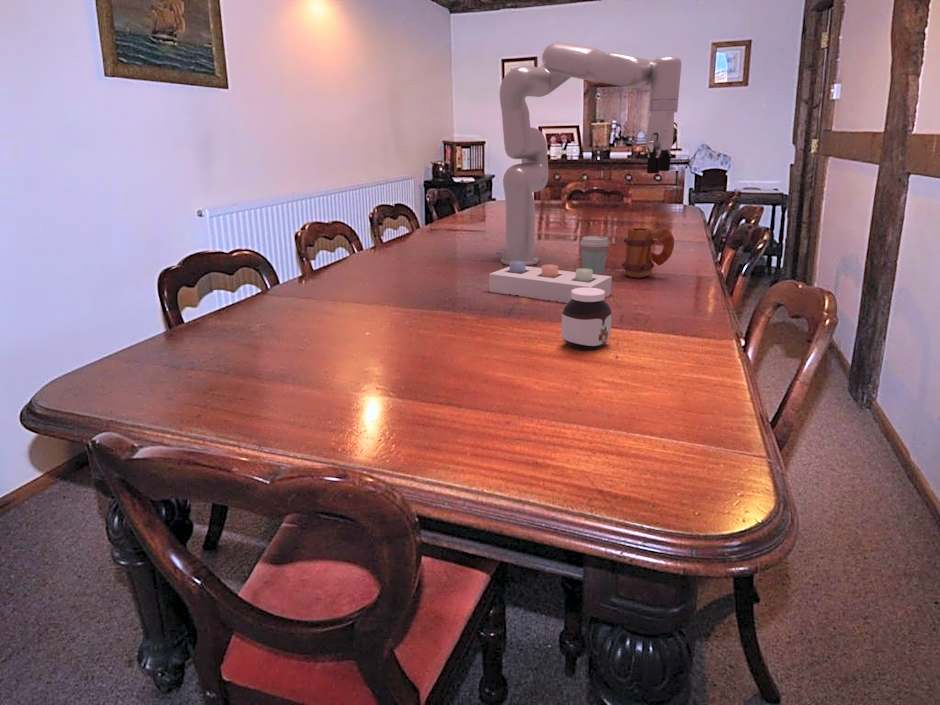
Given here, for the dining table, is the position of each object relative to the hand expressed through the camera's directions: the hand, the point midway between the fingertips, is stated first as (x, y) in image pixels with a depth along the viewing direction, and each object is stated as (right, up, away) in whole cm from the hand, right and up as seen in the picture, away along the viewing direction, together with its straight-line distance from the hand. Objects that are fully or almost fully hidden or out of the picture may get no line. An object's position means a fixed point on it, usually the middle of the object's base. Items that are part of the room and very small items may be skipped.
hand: (658, 171), depth 185 cm
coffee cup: (-16, -29, +12) cm, 35 cm away
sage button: (-23, -34, -11) cm, 42 cm away
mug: (0, -28, +12) cm, 31 cm away
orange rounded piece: (-31, -32, -5) cm, 45 cm away
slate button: (-40, -30, 0) cm, 50 cm away
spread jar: (-29, -49, -44) cm, 72 cm away
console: (-31, -34, -5) cm, 47 cm away
